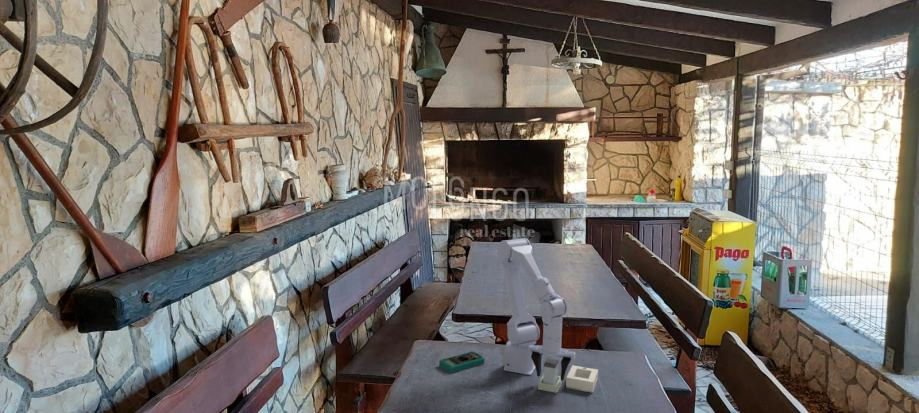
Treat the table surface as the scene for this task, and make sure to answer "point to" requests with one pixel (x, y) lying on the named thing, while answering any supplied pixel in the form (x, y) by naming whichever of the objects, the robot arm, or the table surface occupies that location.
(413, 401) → the table surface
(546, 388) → the pale green rectangular frame
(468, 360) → the digital multimeter
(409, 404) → the table surface
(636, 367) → the table surface
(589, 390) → the frame
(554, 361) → the plug
